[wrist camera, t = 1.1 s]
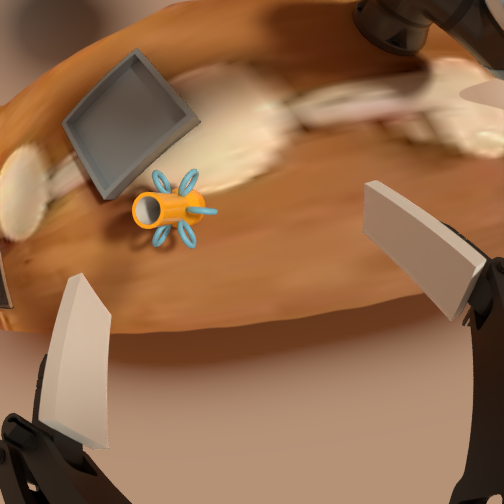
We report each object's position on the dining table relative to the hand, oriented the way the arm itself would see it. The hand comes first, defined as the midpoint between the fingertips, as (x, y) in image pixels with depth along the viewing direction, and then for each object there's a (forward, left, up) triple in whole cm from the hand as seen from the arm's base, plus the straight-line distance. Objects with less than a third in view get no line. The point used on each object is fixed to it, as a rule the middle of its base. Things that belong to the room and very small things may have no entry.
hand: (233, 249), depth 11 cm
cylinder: (+8, -8, -32) cm, 34 cm away
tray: (+8, -28, -31) cm, 43 cm away
